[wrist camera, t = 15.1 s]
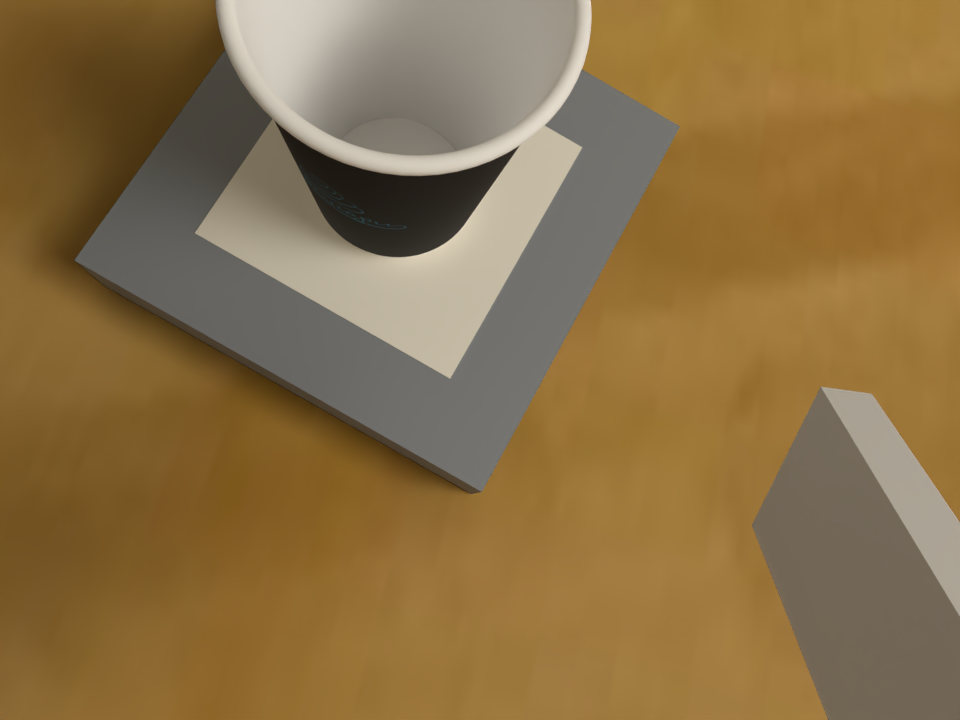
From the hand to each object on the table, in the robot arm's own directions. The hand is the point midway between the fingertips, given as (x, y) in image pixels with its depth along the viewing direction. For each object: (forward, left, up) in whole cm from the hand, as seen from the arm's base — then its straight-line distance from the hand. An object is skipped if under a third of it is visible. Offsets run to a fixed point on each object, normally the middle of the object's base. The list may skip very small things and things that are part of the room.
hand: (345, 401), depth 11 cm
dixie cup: (-4, +9, -15) cm, 18 cm away
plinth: (-4, +9, -18) cm, 20 cm away
